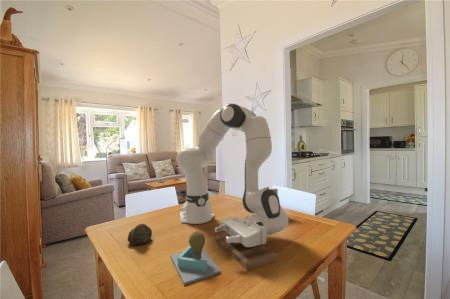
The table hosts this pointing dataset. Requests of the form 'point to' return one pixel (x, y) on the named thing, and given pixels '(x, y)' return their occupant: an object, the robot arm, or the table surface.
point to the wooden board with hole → (247, 253)
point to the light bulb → (197, 244)
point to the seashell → (140, 234)
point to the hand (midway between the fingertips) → (220, 235)
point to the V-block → (193, 266)
